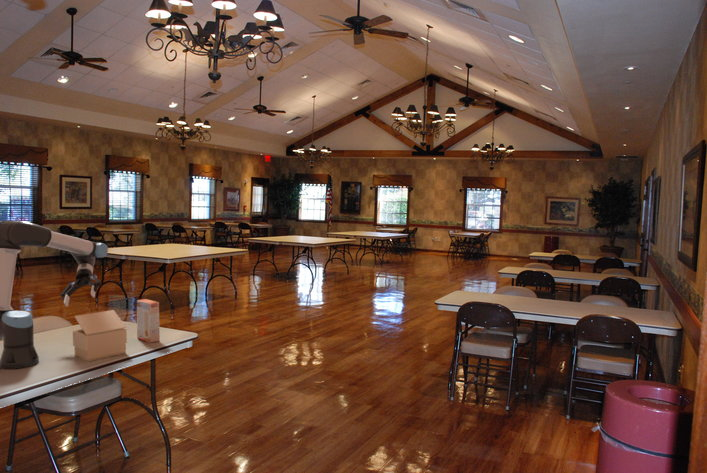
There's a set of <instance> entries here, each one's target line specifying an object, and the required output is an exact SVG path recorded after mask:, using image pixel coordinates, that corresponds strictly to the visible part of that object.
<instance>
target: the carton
mask: <svg viewBox="0 0 707 473" xmlns="http://www.w3.org/2000/svg"><path fill="white" fill-rule="evenodd" d="M127 340H128V336H127V327H126V328H124V329H119V330H113V331H108V332H102V333H97V334H92V335H86V334H85V332H84V331H83V329H82V328H81V329H75V330H72V346H73V347H74V357H76V358H79V359H81V360H83V361H85V362H87V363H88V362H93V361H97V360H102V359H106V358H111V357H117V356H120V355H124V354H127V351H126V350H127V347H126V346H127V345H126V344H127V343H128V342H127Z"/></svg>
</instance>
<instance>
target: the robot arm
mask: <svg viewBox="0 0 707 473" xmlns="http://www.w3.org/2000/svg"><path fill="white" fill-rule="evenodd" d="M23 247H37V248H46V247H49V248H53V249H56V250H61V251H66V252H69V253H70V254H71V256H72V258H74V260H75V261H76V263H77V264H78V266H77V269H76V274H75V280H74V281H73V282H72V281H69V282H68V284H67V286H66V287H64V288H65V289H64V290H63V291H62V292H61V293H60V296H61V298H62V300H63V304H64V306H65V307H66V308H67V307H69V303H70V298H71V296H72V295H73V293H75V292H76V291H77V290H79V289H80V288H83V287H86V286H87V285H88V286H91V289H90V296H91V297H92V298H96V292H98V289H99V287H102V286H103V285H102V283H101V282H100V280H99V279H98V276H97V275H96V273H93V272H94V266H95V263H96V258H97V259H99V258H104V257H106V256H107V255H108V252H109V246H108V245H107V244H105V243H103V242H95V241H90V240H87V239H83V238H80V237H76V236H72V235H68V234H65V233H64V234H63V233H60V232H56V231H52V230H51V229H50V228H49V227H45V226H42V225H39V224H36V223H32V222H30V221H24V220H0V340H2V341H3V342H2V343H3V350H2V353H1V356H0V368H1V369H3V368H5V370H13V369H14V370H16V368H17V369H22V368H28V367H31V366H34V365H37V364H38V363H39V361H40V360H39V358H40V357H39V354H38V352H37V350H36V347H35V344H34V341H35V340H34V319H33V318H34V317H33V315H32V313H31V312H30V311H25V310H14V308H13V307H12V306H11V303H12V302H11V301H12V300H11V299H12V295H13V294H12V293H13V287H14V280H15V279H14V278H15V272H16V264H17V256H18V254H20V252H22V248H23ZM92 280H94V282H93V281H92Z"/></svg>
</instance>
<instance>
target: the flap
mask: <svg viewBox="0 0 707 473" xmlns="http://www.w3.org/2000/svg"><path fill="white" fill-rule="evenodd" d="M120 318H121V317H120V316H119V315H118V314H117V312H116V311H115V310H114V309H112V310H105V311H104V310H103V311H98V312H91V313H85V314H79V315H74V319H75V320H76V322H77V323H78V325H79V326H80V328H81V329H83V331H84V332H85V334H86V335H92V334H97V333H102V332H108V331H113V330H119V329H124V328H126V329H127V326H126V325H125V323H124V322H123V321H122V319H120Z"/></svg>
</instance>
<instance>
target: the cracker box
mask: <svg viewBox="0 0 707 473" xmlns="http://www.w3.org/2000/svg"><path fill="white" fill-rule="evenodd" d="M136 330H137V331H136V333H137V335H136V336H137V339H138V340H141V341H143V342H147V343H149V344H152V343H156V342H160V341H161V340H160V302H159V301H156V300H151V299H147V298H143V299H142V298H141V299H138V300H136Z"/></svg>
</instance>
